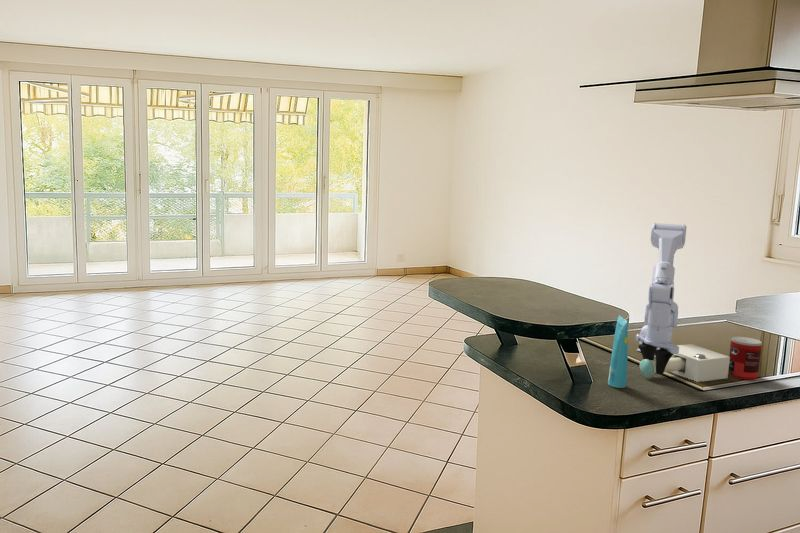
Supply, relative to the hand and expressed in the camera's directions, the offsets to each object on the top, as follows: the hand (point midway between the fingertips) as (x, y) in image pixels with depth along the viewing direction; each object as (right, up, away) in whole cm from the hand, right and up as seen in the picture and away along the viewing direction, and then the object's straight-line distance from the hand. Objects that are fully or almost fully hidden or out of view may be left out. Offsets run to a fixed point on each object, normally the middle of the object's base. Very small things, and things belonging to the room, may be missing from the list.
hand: (654, 371), depth 178 cm
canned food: (+28, -2, +4) cm, 28 cm away
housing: (+14, -2, +6) cm, 15 cm away
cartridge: (+5, -1, +2) cm, 5 cm away
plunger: (+13, +1, 0) cm, 13 cm away
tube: (-13, -3, -7) cm, 15 cm away
